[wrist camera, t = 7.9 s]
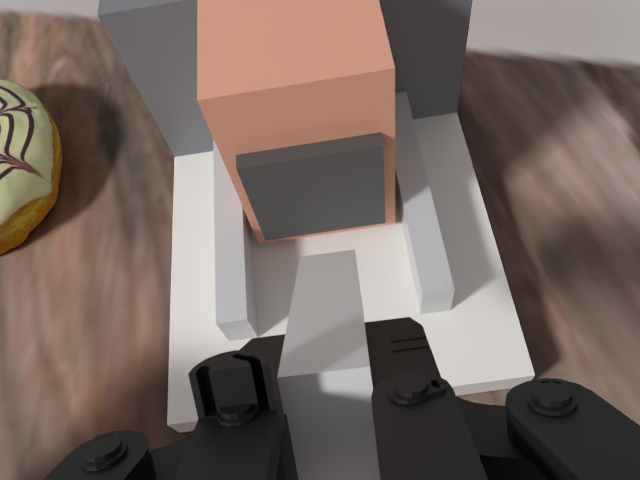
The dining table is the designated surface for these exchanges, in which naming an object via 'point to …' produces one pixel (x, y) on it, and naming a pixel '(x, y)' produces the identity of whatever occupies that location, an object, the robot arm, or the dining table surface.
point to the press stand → (369, 243)
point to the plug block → (301, 111)
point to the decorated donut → (25, 163)
